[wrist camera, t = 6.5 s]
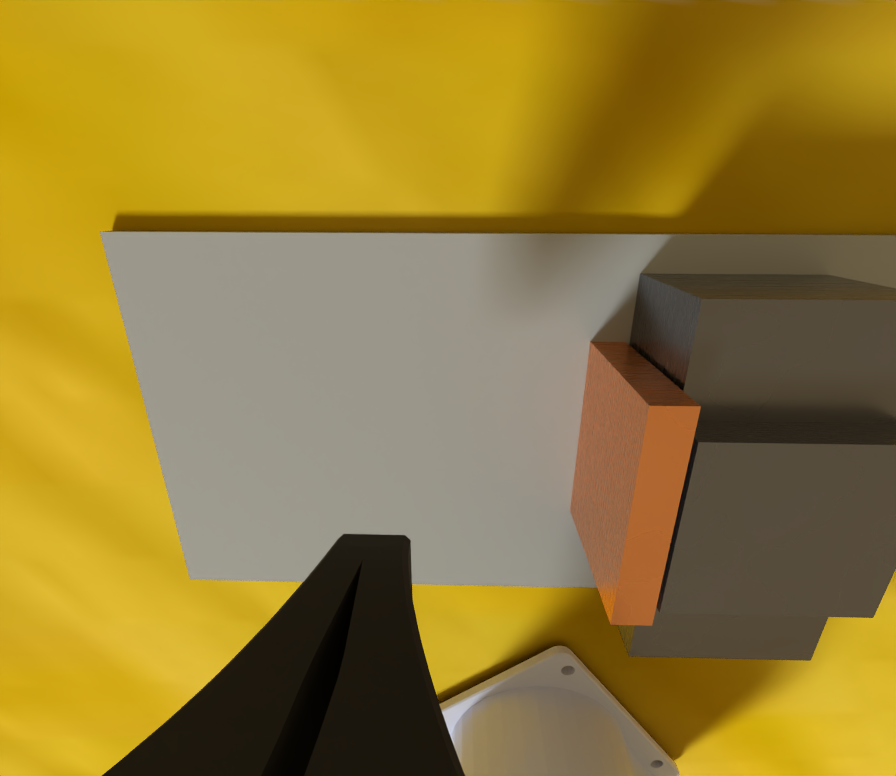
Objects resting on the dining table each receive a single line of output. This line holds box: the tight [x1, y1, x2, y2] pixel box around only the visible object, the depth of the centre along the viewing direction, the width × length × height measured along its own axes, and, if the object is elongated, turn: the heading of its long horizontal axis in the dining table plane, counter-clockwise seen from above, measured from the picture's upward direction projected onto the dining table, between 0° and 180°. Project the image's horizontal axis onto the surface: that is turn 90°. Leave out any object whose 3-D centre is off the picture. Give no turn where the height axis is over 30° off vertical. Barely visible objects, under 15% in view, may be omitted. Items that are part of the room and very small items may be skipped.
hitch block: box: [617, 273, 896, 660], centre depth 12 cm, size 5×10×4 cm, turn 0°
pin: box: [570, 341, 701, 626], centre depth 12 cm, size 8×6×4 cm
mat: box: [100, 231, 896, 588], centre depth 15 cm, size 22×12×1 cm, turn 90°
